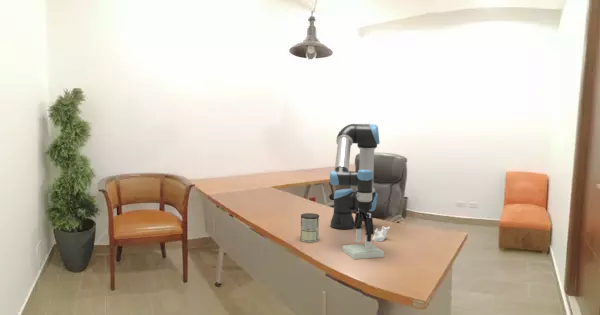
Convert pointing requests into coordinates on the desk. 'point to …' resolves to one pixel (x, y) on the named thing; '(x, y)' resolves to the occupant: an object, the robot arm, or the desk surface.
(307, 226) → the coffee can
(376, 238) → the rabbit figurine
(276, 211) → the desk surface
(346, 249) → the tray
